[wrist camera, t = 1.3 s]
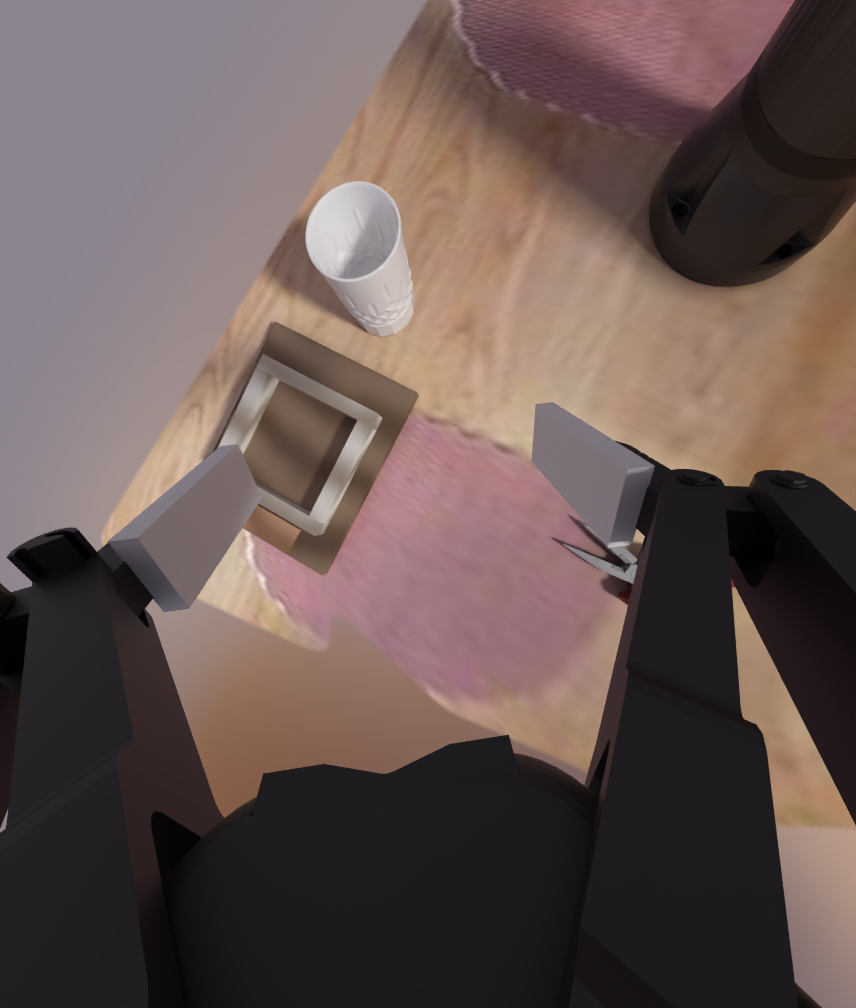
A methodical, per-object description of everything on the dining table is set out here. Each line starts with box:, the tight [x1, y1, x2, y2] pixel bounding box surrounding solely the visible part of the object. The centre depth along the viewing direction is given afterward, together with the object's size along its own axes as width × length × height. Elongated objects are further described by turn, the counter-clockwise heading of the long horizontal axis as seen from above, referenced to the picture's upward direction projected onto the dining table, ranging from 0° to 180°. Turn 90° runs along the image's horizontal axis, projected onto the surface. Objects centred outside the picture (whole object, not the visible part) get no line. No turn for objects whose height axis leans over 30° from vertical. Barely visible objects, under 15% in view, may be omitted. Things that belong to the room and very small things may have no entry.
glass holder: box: [213, 322, 419, 575], centre depth 35 cm, size 22×18×3 cm
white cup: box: [305, 181, 415, 337], centre depth 31 cm, size 8×8×10 cm
